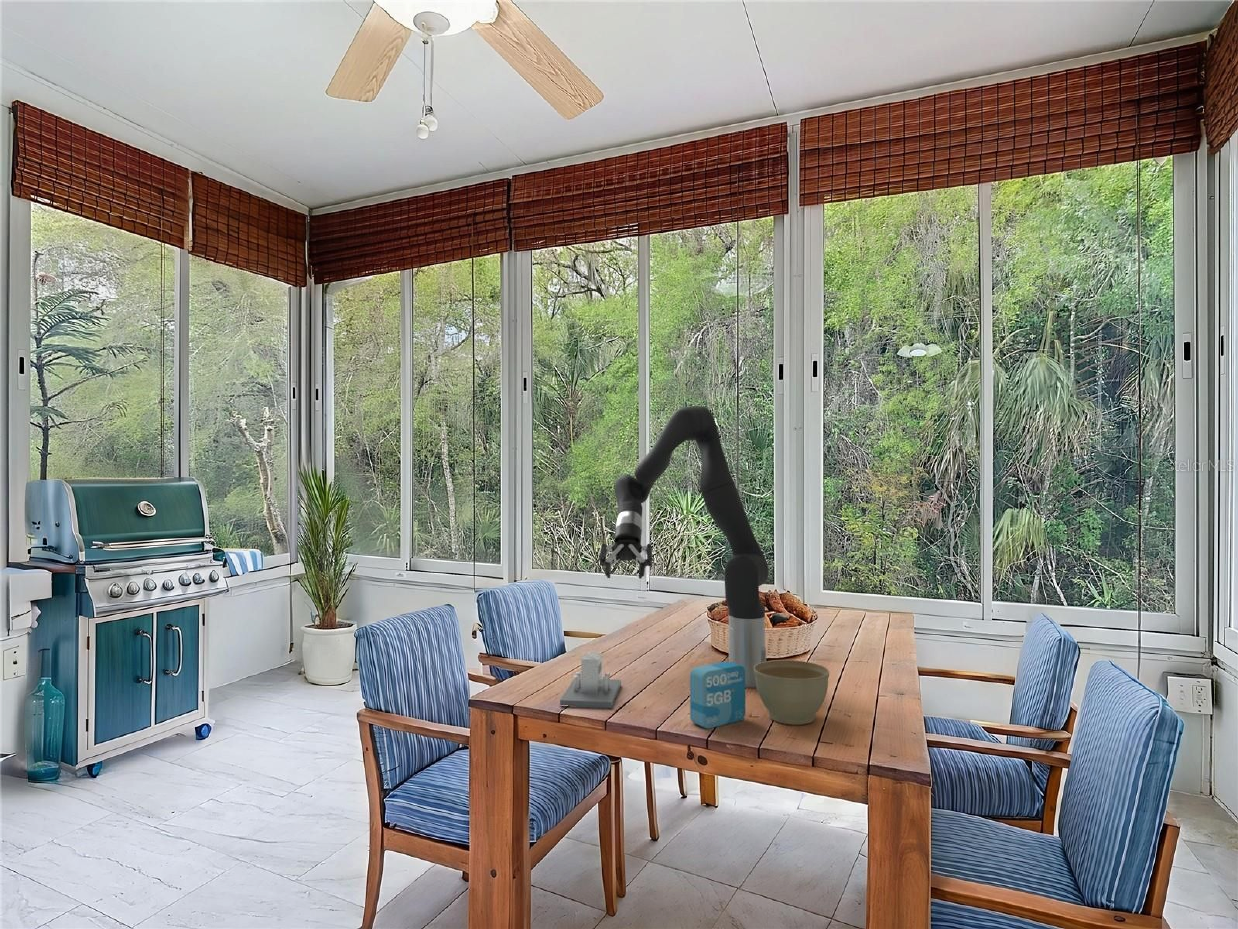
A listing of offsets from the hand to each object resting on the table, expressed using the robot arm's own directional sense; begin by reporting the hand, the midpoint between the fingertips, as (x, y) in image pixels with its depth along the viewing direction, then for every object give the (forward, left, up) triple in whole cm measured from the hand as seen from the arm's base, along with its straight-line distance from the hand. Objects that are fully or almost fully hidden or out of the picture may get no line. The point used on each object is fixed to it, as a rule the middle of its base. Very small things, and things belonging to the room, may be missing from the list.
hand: (624, 576), depth 188 cm
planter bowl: (-40, +29, -27) cm, 56 cm away
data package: (-24, +33, -27) cm, 49 cm away
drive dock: (+6, +18, -26) cm, 32 cm away
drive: (+6, +17, -25) cm, 31 cm away
